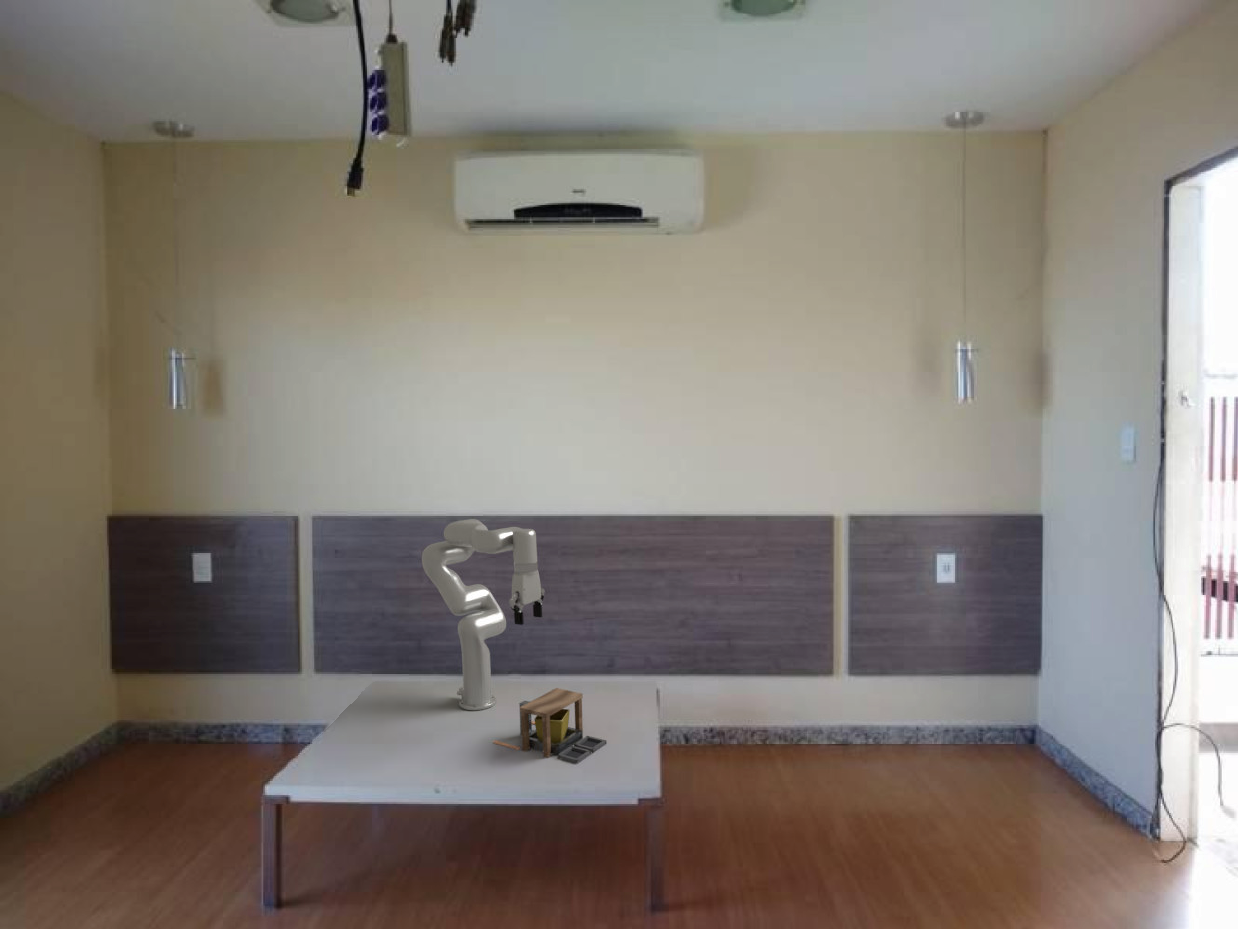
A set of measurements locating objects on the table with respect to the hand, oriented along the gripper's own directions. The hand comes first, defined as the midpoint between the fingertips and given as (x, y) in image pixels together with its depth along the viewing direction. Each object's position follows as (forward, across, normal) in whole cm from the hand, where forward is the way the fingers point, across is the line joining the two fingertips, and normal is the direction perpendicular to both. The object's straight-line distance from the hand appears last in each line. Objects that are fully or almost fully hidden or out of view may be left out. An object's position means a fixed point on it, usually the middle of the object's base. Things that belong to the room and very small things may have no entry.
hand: (528, 620), depth 243 cm
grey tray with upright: (+34, +9, +12) cm, 37 cm away
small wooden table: (+34, +9, +14) cm, 38 cm away
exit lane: (+34, +9, +3) cm, 35 cm away
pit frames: (+34, +10, +25) cm, 44 cm away
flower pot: (+34, +9, +14) cm, 38 cm away
